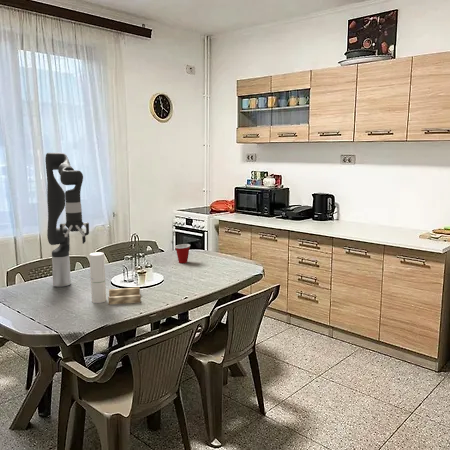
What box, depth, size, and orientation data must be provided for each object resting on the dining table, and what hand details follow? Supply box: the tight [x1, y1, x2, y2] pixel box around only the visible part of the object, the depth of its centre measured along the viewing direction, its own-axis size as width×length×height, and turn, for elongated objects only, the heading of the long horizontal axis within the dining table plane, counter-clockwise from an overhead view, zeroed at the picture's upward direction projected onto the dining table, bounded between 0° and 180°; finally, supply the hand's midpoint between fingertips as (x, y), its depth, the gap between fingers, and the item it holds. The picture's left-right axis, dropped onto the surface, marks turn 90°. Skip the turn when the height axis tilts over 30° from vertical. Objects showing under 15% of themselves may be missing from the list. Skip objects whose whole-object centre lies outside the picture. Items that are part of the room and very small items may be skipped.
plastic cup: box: [174, 243, 191, 264], centre depth 303 cm, size 11×11×12 cm
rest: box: [107, 286, 142, 305], centre depth 232 cm, size 16×14×4 cm
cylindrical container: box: [88, 251, 107, 304], centre depth 227 cm, size 7×7×25 cm
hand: (75, 243), depth 222 cm, fingers open, 7 cm apart
